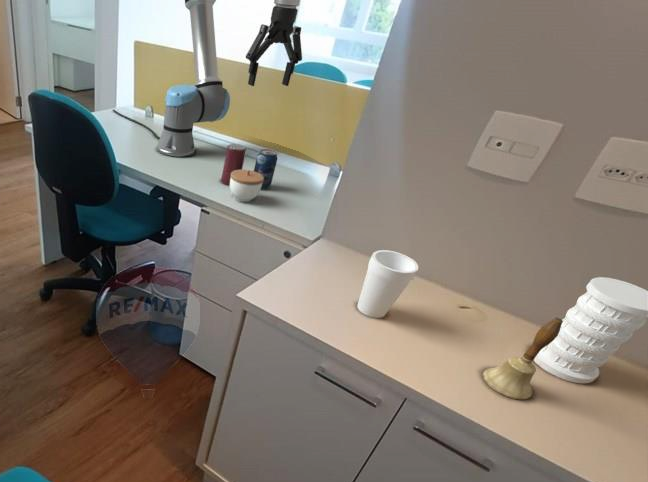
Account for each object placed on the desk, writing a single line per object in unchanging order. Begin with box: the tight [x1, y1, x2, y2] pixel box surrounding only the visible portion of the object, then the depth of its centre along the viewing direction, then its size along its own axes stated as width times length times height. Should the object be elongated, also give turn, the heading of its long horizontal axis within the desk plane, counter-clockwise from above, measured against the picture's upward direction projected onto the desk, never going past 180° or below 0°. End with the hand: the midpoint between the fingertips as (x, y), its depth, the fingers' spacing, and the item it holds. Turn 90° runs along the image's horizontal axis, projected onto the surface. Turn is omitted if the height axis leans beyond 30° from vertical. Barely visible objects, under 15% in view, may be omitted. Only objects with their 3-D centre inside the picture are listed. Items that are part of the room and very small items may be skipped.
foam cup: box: [356, 249, 419, 319], centre depth 99 cm, size 10×9×13 cm
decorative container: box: [533, 276, 648, 384], centre depth 87 cm, size 12×12×18 cm
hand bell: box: [482, 317, 563, 400], centre depth 82 cm, size 8×8×16 cm
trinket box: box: [229, 169, 264, 203], centre depth 146 cm, size 11×11×9 cm
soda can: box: [253, 148, 278, 191], centre depth 154 cm, size 7×7×12 cm
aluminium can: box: [220, 143, 247, 187], centre depth 155 cm, size 7×7×12 cm
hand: (268, 85), depth 148 cm, fingers open, 13 cm apart
